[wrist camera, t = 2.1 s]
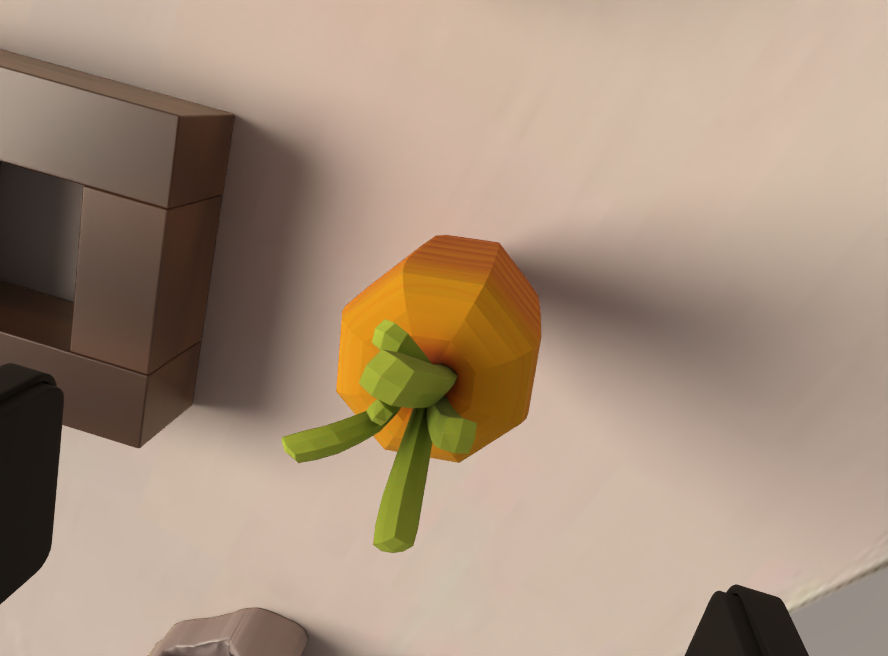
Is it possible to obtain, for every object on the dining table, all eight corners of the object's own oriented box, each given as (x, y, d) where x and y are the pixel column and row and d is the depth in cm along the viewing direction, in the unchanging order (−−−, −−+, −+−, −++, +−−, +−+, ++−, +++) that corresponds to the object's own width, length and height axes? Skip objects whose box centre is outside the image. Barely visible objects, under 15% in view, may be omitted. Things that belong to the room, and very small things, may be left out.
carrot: (503, 355, 27) (445, 636, 13) (390, 289, 27) (203, 497, 13) (575, 244, 25) (599, 424, 11) (454, 173, 25) (324, 261, 11)
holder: (-69, 30, 26) (-173, 17, 23) (235, 114, 26) (179, 115, 22) (-71, 325, 30) (-160, 356, 26) (192, 405, 29) (139, 449, 26)
